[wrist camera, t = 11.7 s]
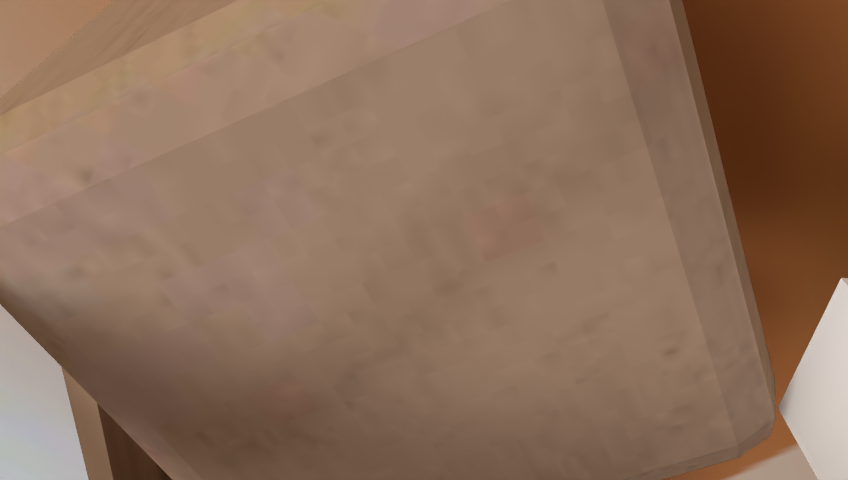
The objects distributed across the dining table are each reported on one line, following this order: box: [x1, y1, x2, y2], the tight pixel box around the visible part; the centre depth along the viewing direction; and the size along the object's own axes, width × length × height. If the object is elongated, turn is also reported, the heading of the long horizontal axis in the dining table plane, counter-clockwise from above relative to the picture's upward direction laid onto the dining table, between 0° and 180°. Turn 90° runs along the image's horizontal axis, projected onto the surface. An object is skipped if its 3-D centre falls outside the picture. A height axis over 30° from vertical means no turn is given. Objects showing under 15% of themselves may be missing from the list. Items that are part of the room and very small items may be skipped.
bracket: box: [61, 366, 172, 480], centre depth 35 cm, size 23×17×8 cm
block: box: [0, 0, 775, 480], centre depth 19 cm, size 10×10×20 cm
